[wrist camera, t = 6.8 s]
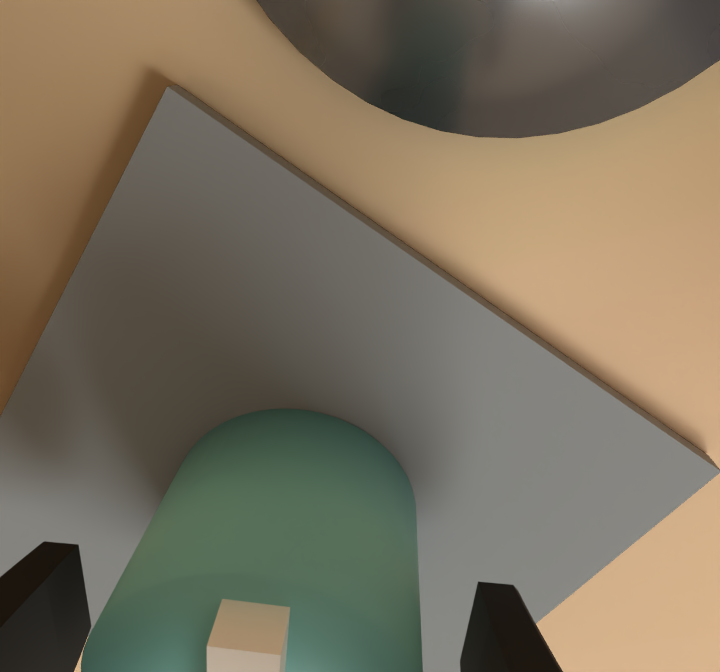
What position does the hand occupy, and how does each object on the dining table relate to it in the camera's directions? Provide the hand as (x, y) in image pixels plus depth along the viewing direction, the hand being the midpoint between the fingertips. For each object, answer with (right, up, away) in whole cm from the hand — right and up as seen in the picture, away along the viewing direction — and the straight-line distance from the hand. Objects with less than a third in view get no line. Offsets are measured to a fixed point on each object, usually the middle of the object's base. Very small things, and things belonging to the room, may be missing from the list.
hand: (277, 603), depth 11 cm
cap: (0, +1, +2) cm, 2 cm away
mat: (0, +1, +2) cm, 3 cm away
